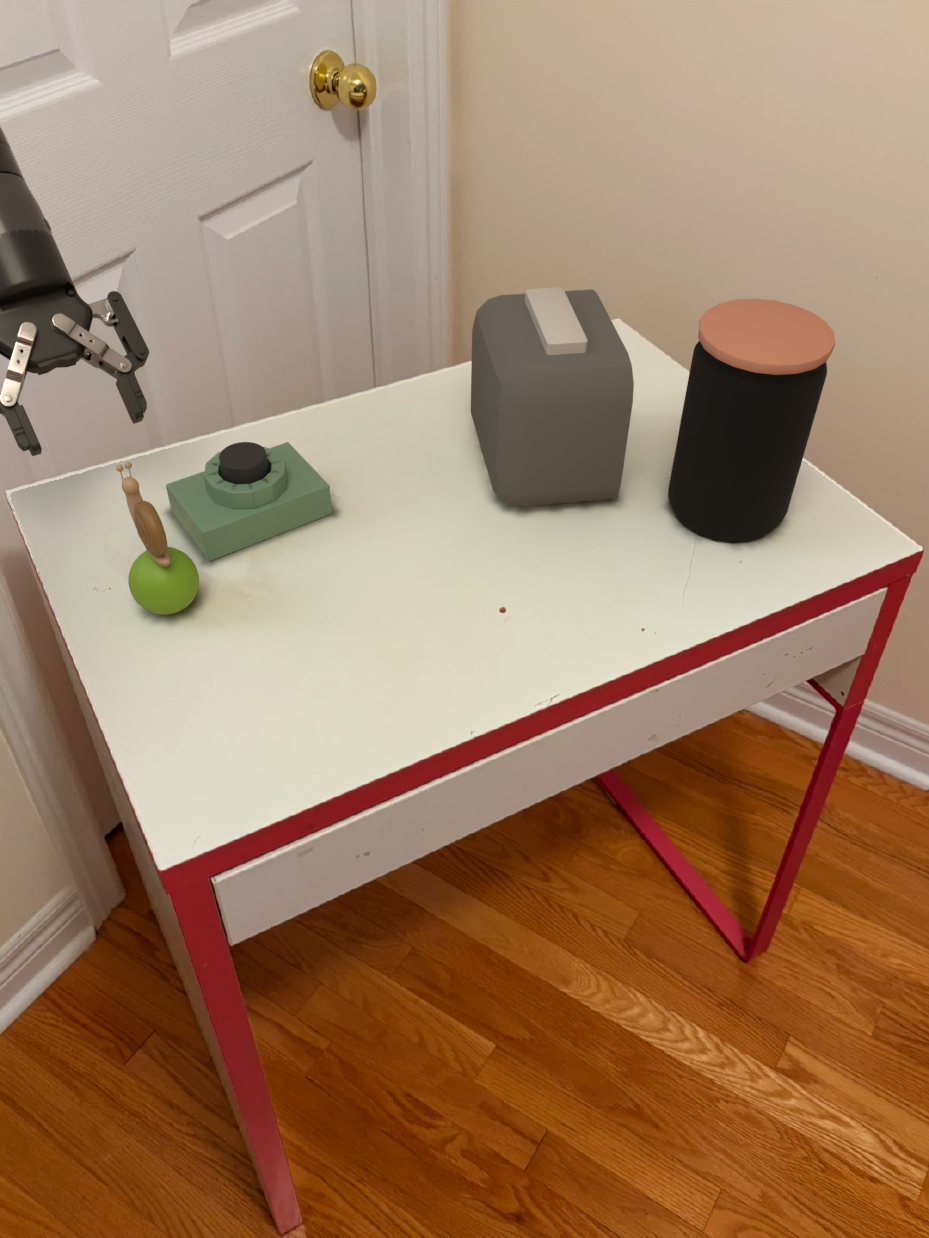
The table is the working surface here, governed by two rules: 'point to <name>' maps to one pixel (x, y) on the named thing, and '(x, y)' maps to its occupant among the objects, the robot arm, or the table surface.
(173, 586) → the snail figurine
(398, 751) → the table surface
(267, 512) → the green push button box
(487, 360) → the alarm clock
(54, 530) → the table surface
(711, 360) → the coffee jar
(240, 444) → the black button
